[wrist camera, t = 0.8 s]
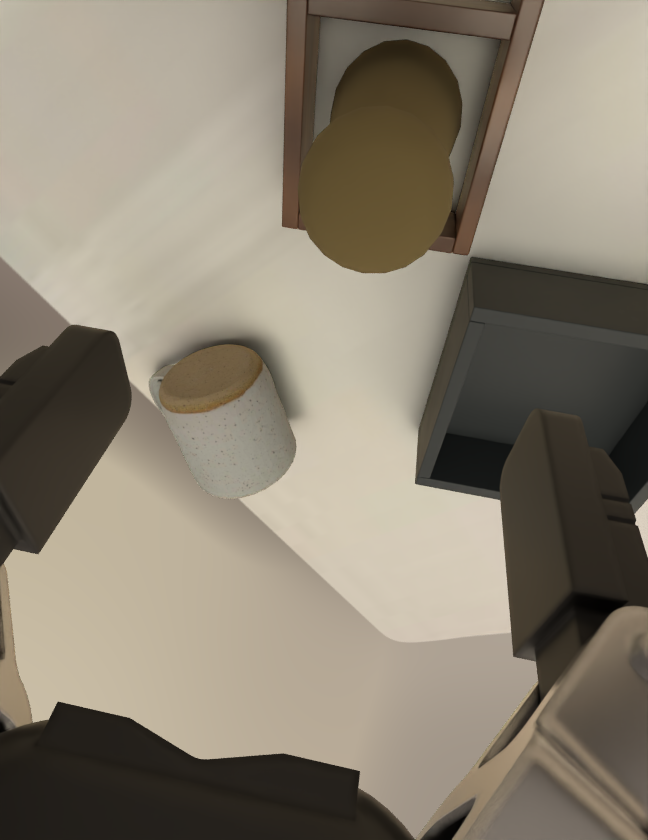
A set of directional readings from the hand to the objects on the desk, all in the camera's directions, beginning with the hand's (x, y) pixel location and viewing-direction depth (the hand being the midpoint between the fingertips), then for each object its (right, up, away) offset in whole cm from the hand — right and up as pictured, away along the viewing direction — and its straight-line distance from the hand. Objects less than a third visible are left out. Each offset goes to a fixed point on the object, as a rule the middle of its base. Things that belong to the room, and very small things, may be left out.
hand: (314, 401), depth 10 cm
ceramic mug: (-7, +2, +28) cm, 29 cm away
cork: (+4, +14, +14) cm, 20 cm away
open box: (+14, +2, +22) cm, 26 cm away
